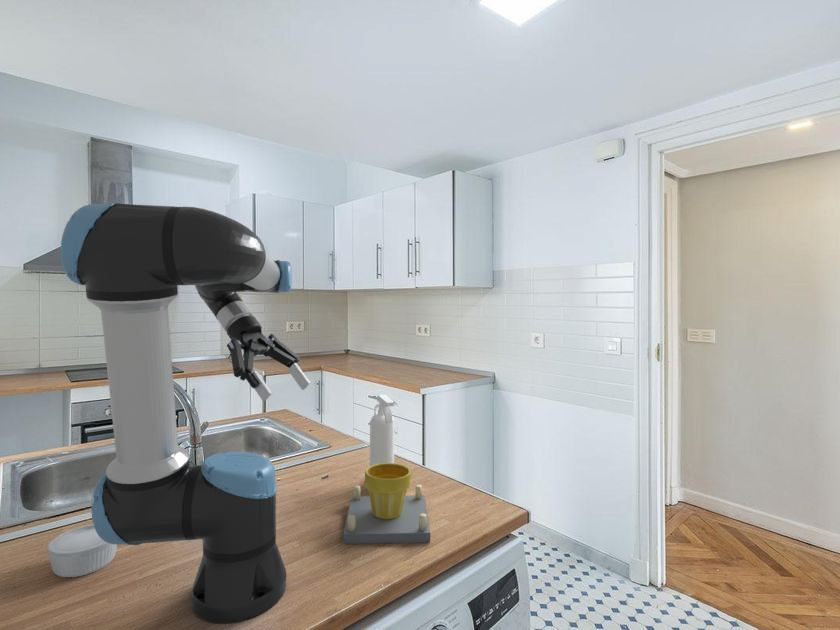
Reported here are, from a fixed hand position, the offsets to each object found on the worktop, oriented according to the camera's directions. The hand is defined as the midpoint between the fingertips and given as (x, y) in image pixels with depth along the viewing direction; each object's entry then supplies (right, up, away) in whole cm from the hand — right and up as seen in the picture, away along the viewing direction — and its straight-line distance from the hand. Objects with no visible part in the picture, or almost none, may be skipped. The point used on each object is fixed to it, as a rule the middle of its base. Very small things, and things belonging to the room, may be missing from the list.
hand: (288, 391), depth 107 cm
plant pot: (+23, -27, -3) cm, 36 cm away
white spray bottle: (+20, -29, +17) cm, 39 cm away
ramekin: (-33, -29, -20) cm, 48 cm away
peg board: (+23, -29, -3) cm, 37 cm away
